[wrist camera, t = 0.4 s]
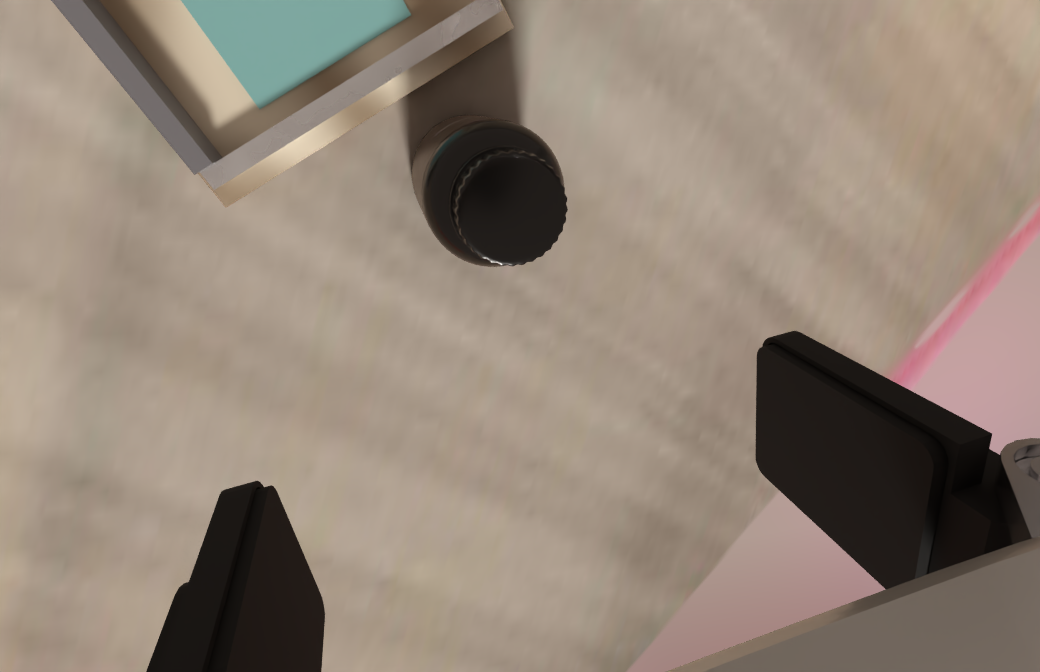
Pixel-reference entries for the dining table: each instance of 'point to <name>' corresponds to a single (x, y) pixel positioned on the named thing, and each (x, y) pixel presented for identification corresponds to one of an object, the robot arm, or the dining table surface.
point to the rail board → (273, 70)
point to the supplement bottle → (489, 190)
